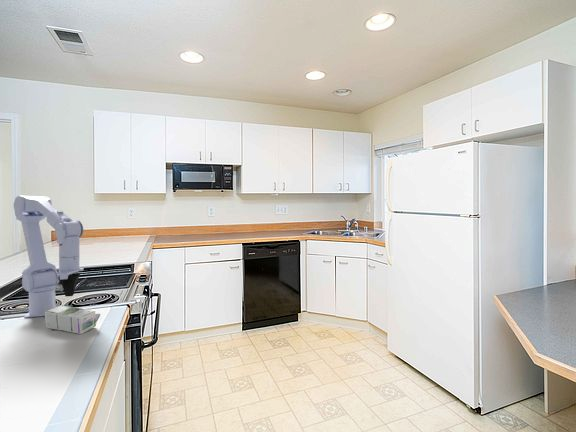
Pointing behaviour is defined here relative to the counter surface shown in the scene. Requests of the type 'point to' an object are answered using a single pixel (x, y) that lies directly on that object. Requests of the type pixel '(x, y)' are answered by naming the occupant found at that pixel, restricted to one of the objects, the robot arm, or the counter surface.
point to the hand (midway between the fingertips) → (69, 295)
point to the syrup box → (70, 319)
